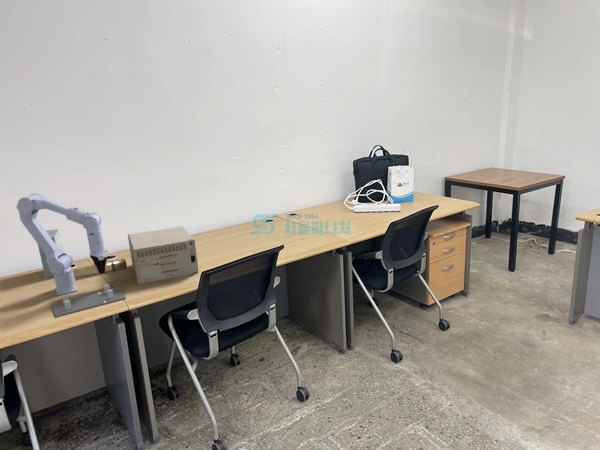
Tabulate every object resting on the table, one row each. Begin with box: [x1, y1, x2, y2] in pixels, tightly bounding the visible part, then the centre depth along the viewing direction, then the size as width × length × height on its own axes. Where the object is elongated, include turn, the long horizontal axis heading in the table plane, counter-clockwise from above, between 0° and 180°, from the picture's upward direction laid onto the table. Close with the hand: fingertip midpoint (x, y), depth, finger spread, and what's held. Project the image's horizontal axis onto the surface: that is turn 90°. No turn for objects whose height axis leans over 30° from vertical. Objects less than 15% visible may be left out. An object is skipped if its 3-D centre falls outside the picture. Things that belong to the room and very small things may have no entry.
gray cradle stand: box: [51, 283, 127, 318], centre depth 184 cm, size 14×26×4 cm, turn 124°
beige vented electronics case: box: [127, 225, 199, 285], centre depth 216 cm, size 27×29×16 cm
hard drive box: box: [36, 228, 64, 279], centre depth 218 cm, size 16×8×20 cm, turn 21°
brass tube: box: [72, 258, 128, 282], centre depth 196 cm, size 5×21×5 cm, turn 124°
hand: (100, 271), depth 196 cm, fingers closed on brass tube, 5 cm apart
